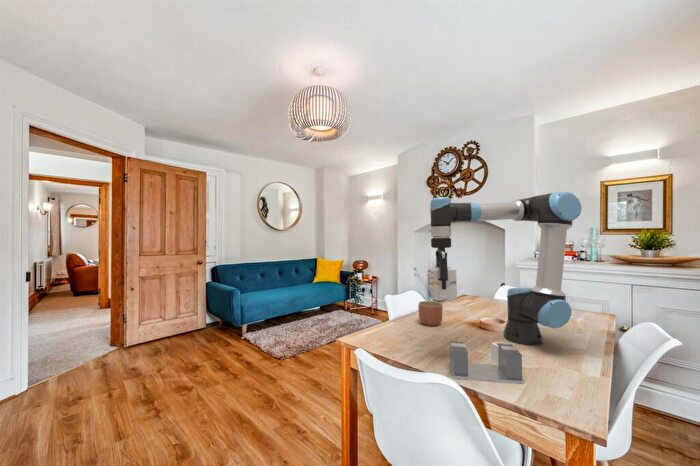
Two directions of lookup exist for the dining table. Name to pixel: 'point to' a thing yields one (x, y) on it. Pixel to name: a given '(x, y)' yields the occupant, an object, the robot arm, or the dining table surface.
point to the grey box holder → (487, 365)
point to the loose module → (495, 350)
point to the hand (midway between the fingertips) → (442, 294)
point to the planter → (430, 312)
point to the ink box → (435, 284)
